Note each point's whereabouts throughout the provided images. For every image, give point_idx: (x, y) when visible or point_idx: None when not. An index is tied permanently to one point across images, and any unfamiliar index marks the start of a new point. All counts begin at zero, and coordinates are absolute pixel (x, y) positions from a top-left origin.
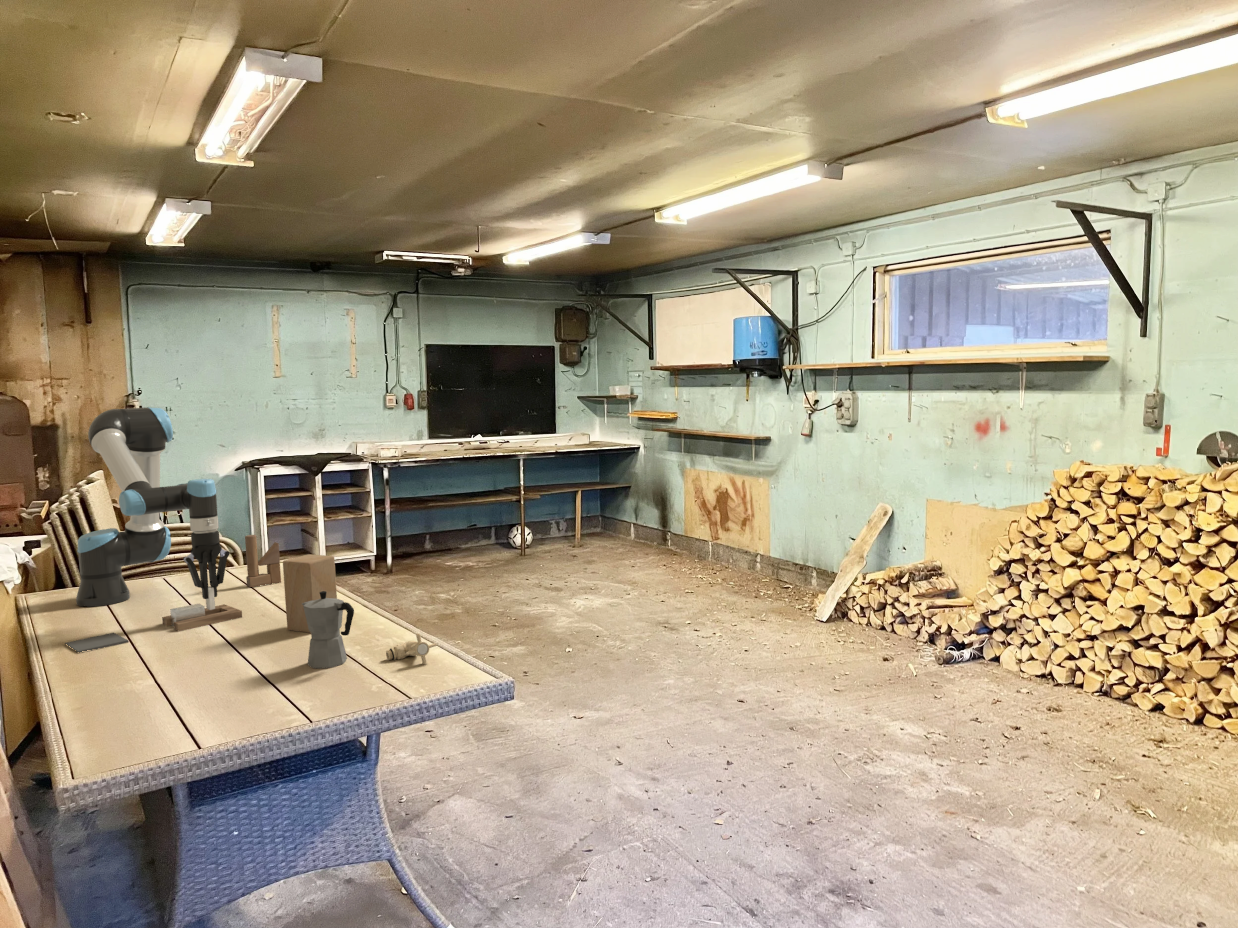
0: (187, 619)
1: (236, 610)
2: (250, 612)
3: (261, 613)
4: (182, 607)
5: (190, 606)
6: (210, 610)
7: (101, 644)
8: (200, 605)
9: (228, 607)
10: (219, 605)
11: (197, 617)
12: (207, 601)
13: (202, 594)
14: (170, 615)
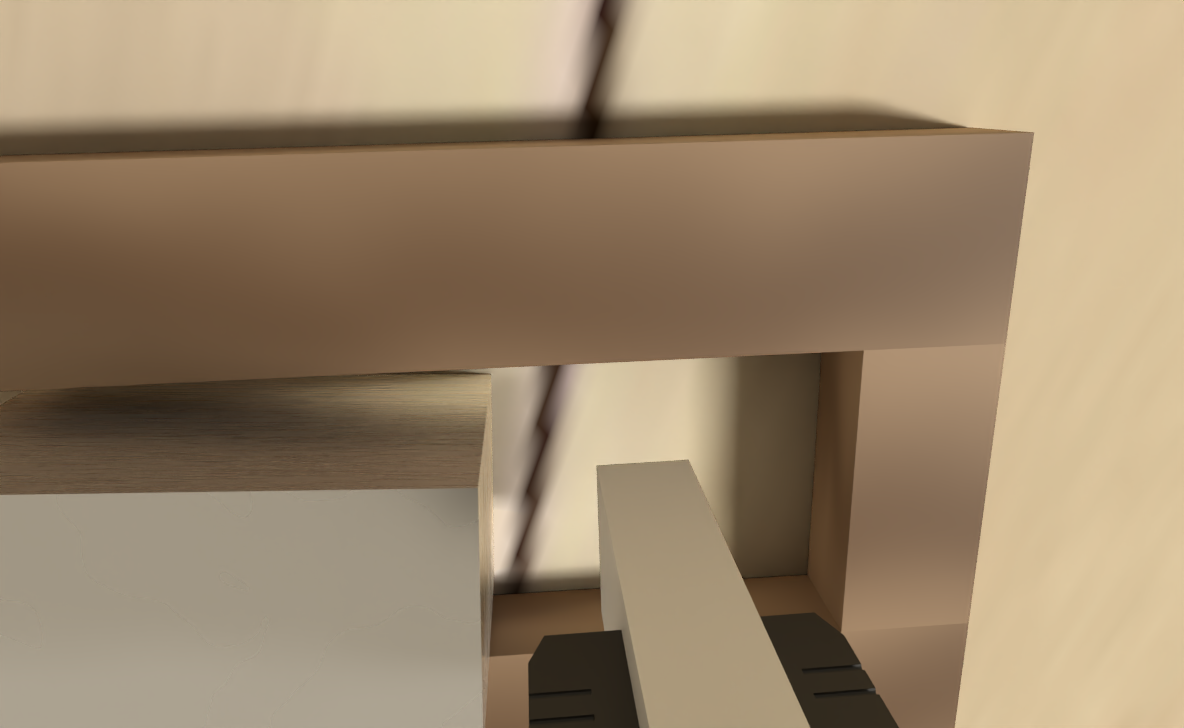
0: None
1: (912, 706)
2: (1098, 554)
3: (1134, 702)
4: (107, 555)
5: (264, 596)
6: (683, 354)
7: None
8: (441, 665)
9: (944, 439)
10: (936, 150)
11: None
12: (613, 609)
13: (529, 721)
14: (2, 165)
